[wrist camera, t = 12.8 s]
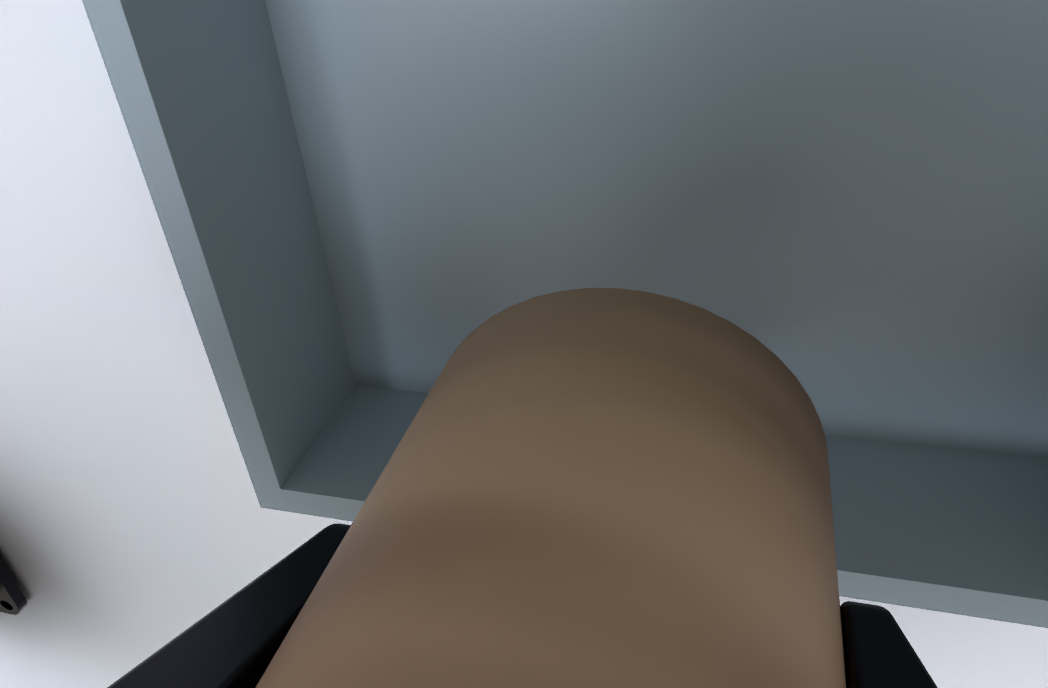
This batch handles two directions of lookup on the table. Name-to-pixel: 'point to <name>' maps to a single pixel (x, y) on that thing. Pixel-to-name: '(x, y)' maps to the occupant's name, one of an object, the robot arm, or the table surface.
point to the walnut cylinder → (589, 517)
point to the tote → (626, 229)
